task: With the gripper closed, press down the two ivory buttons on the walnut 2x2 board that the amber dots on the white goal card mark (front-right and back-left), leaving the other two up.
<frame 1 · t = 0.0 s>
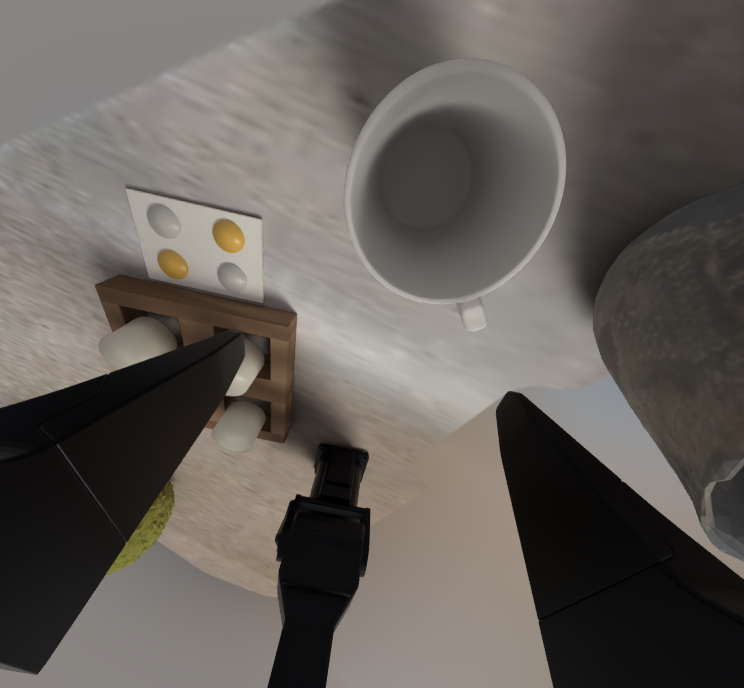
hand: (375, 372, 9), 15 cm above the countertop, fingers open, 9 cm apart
button c: (234, 366, 24), point 4 cm above the countertop, slide at 0.0 cm
fruit: (140, 466, 43), on the countertop
board: (218, 363, 30), on the countertop
goal card: (202, 250, 23), on the countertop
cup: (673, 289, 21), on the countertop
mug: (431, 205, 20), on the countertop
button a: (240, 425, 29), point 4 cm above the countertop, slide at 0.0 cm
button d: (140, 346, 24), point 4 cm above the countertop, slide at 0.0 cm
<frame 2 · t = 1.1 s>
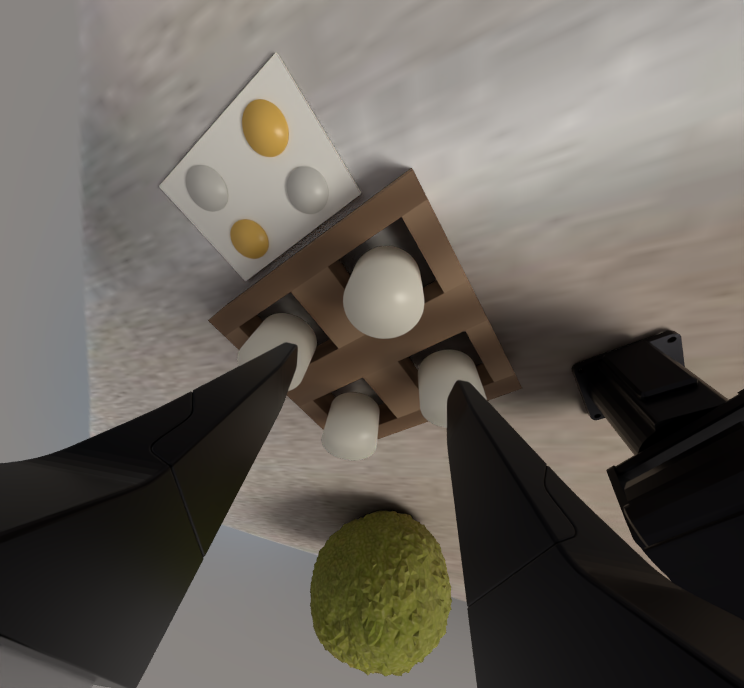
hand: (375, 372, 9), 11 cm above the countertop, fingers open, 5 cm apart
button c: (384, 291, 15), point 4 cm above the countertop, slide at 0.0 cm
fruit: (381, 518, 38), on the countertop
board: (371, 336, 22), on the countertop
goal card: (259, 189, 17), on the countertop
button b: (352, 425, 21), point 4 cm above the countertop, slide at 0.0 cm
button a: (449, 388, 19), point 4 cm above the countertop, slide at 0.0 cm
button d: (280, 352, 18), point 4 cm above the countertop, slide at 0.0 cm
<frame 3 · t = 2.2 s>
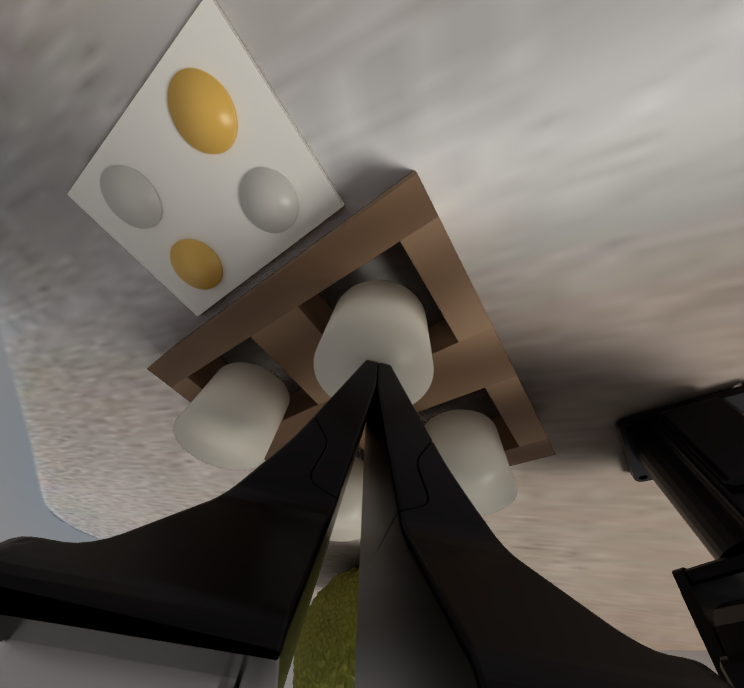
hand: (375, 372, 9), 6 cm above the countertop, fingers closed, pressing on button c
button c: (376, 345, 11), point 4 cm above the countertop, slide at 0.1 cm, touching gripper
fruit: (378, 566, 33), on the countertop
board: (362, 383, 17), on the countertop
goal card: (205, 199, 12), on the countertop
button b: (337, 496, 17), point 4 cm above the countertop, slide at 0.0 cm
button a: (463, 461, 14), point 4 cm above the countertop, slide at 0.0 cm
button d: (237, 415, 14), point 4 cm above the countertop, slide at 0.0 cm
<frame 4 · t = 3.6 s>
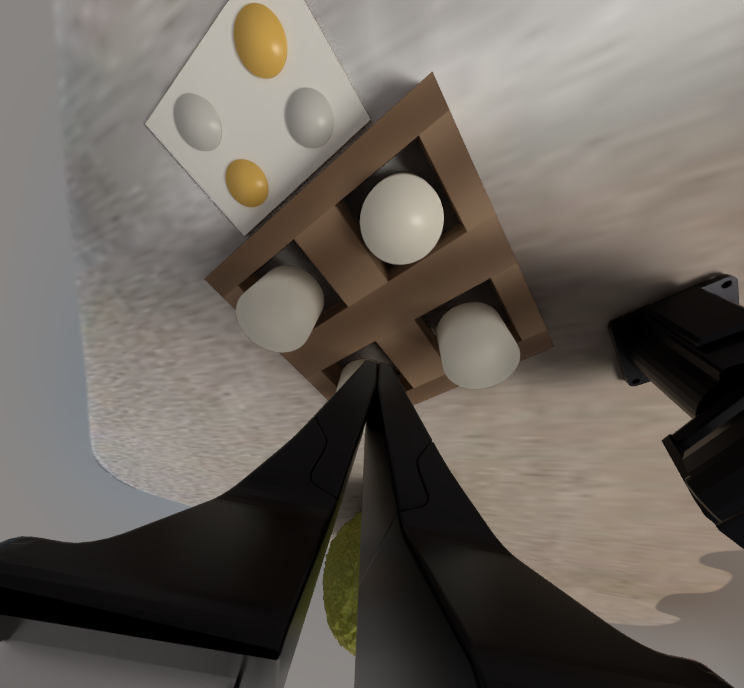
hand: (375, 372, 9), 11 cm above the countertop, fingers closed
button c: (401, 217, 15), point 2 cm above the countertop, slide at 2.0 cm
fruit: (396, 507, 36), on the countertop
board: (383, 297, 20), on the countertop
goal card: (256, 122, 15), on the countertop
button b: (364, 395, 20), point 4 cm above the countertop, slide at 0.0 cm
button a: (474, 344, 16), point 4 cm above the countertop, slide at 0.0 cm
button d: (283, 308, 16), point 4 cm above the countertop, slide at 0.0 cm
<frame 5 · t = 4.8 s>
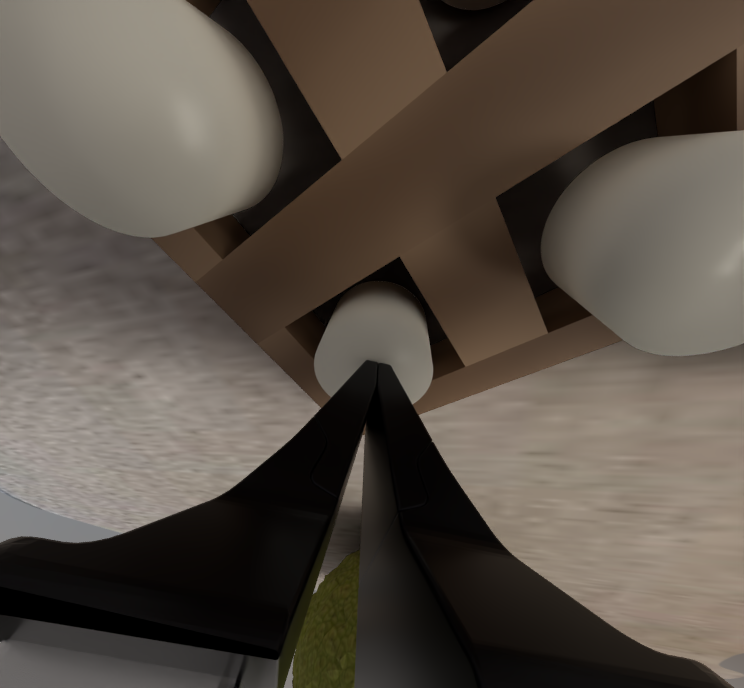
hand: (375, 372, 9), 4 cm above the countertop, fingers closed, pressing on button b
fruit: (402, 544, 26), on the countertop
board: (415, 174, 10), on the countertop
button b: (376, 345, 11), point 2 cm above the countertop, slide at 1.8 cm, touching gripper
button a: (666, 242, 6), point 4 cm above the countertop, slide at 0.0 cm
button d: (162, 120, 6), point 4 cm above the countertop, slide at 0.0 cm
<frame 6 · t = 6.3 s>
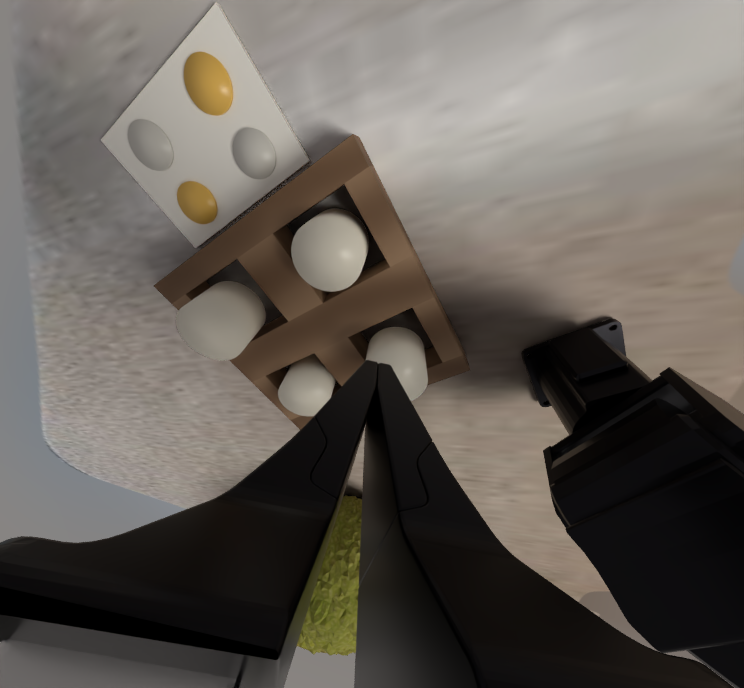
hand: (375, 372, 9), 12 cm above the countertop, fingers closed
button c: (333, 249, 17), point 2 cm above the countertop, slide at 2.0 cm
fruit: (343, 504, 38), on the countertop
board: (325, 313, 22), on the countertop
goal card: (206, 150, 16), on the countertop
button b: (309, 384, 23), point 2 cm above the countertop, slide at 2.0 cm
button a: (395, 364, 19), point 4 cm above the countertop, slide at 0.0 cm
button d: (224, 320, 18), point 4 cm above the countertop, slide at 0.0 cm
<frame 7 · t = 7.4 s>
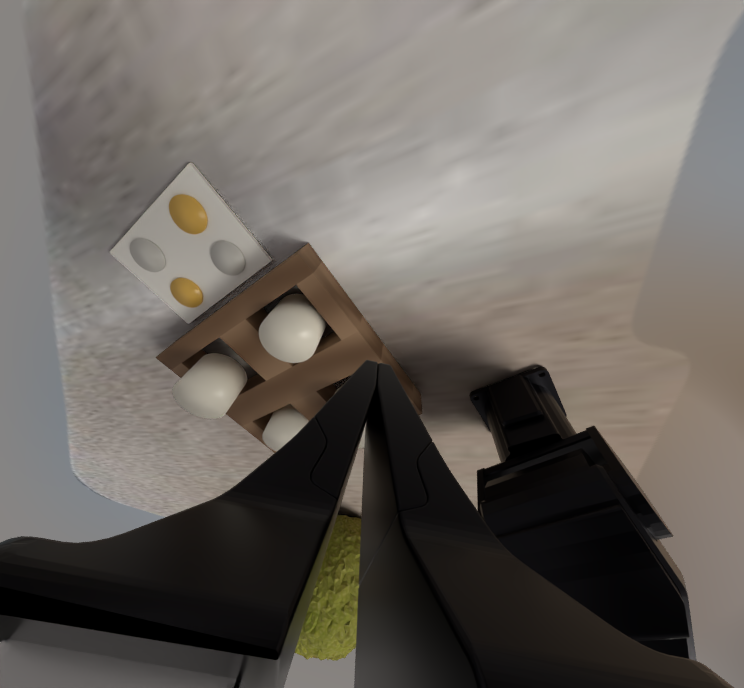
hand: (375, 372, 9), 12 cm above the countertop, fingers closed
button c: (295, 327, 21), point 2 cm above the countertop, slide at 2.0 cm
fruit: (337, 521, 42), on the countertop
board: (299, 368, 25), on the countertop
goal card: (191, 255, 20), on the countertop
button b: (289, 426, 27), point 2 cm above the countertop, slide at 2.0 cm
button a: (354, 415, 22), point 4 cm above the countertop, slide at 0.0 cm
button d: (212, 385, 22), point 4 cm above the countertop, slide at 0.0 cm
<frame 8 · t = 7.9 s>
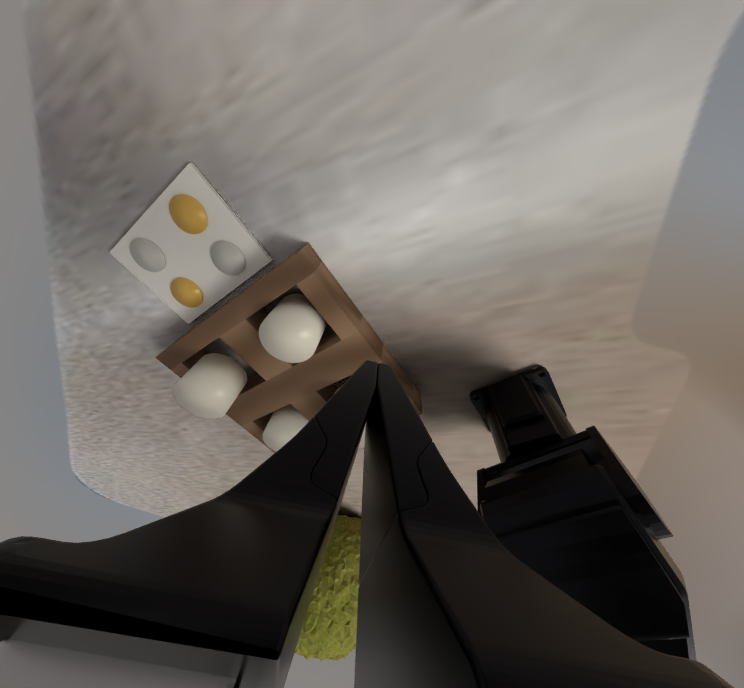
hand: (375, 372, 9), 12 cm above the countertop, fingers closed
button c: (295, 327, 21), point 2 cm above the countertop, slide at 2.0 cm
fruit: (337, 521, 42), on the countertop
board: (299, 368, 25), on the countertop
goal card: (191, 255, 20), on the countertop
button b: (289, 426, 27), point 2 cm above the countertop, slide at 2.0 cm
button a: (354, 415, 22), point 4 cm above the countertop, slide at 0.0 cm
button d: (212, 385, 22), point 4 cm above the countertop, slide at 0.0 cm
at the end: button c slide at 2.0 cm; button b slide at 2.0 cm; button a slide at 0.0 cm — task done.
